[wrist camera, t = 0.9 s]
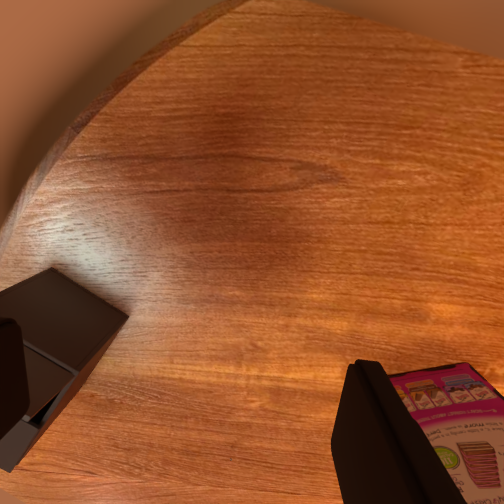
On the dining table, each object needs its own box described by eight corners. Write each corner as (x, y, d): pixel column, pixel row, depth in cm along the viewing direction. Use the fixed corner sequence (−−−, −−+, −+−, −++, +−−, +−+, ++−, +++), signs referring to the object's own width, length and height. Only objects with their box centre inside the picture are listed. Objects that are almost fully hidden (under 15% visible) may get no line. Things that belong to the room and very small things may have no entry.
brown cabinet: (51, 266, 29) (-42, 311, 20) (129, 316, 30) (73, 378, 21) (5, 350, 31) (-94, 420, 23) (77, 392, 33) (10, 474, 24)
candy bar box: (364, 417, 32) (461, 658, 16) (358, 379, 31) (457, 603, 15) (471, 399, 31) (686, 641, 15) (469, 360, 30) (703, 580, 14)
